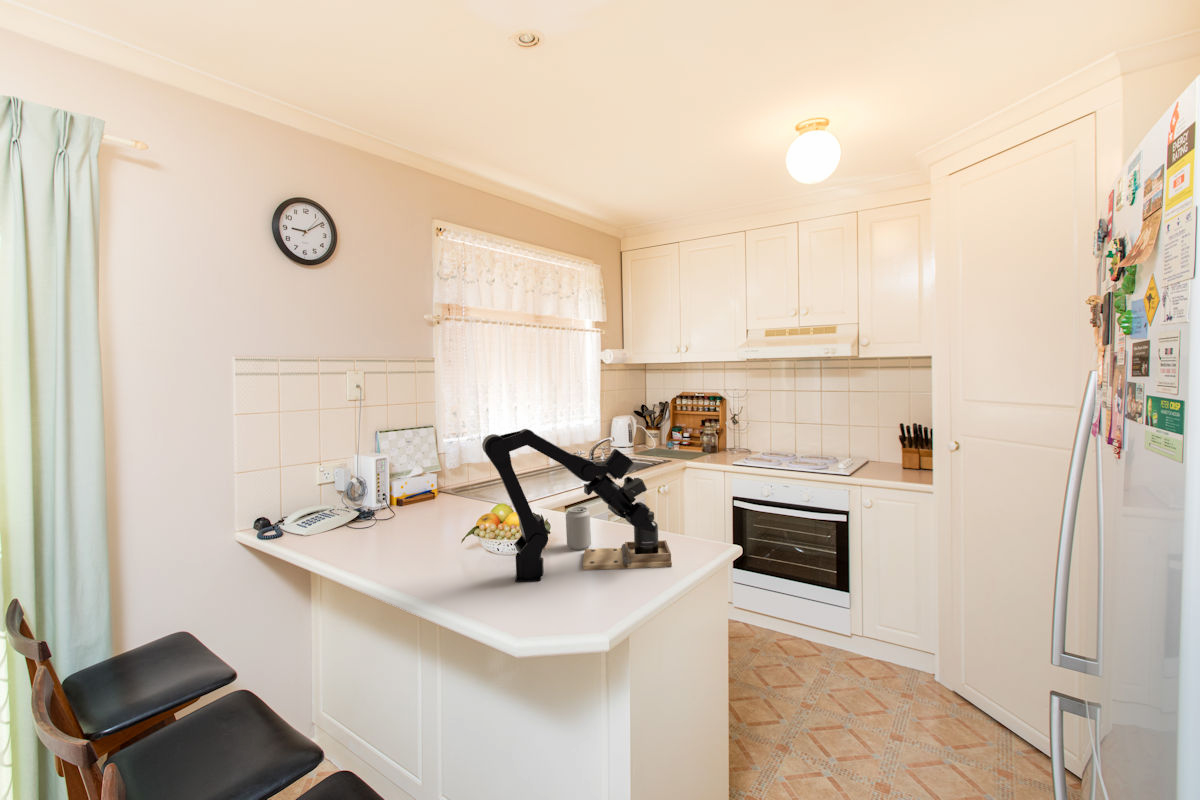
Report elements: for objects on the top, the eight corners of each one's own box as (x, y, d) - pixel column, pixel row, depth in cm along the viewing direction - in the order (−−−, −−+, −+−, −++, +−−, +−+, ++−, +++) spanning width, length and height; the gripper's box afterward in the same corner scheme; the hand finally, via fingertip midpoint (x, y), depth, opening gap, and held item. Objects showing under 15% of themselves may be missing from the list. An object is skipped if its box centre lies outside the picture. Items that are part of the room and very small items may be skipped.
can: (590, 550, 159) (589, 511, 159) (566, 551, 159) (564, 511, 159) (591, 542, 167) (590, 505, 166) (568, 543, 167) (566, 506, 166)
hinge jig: (583, 570, 143) (582, 558, 143) (585, 553, 157) (584, 542, 157) (671, 566, 143) (671, 554, 143) (665, 550, 157) (665, 539, 157)
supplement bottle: (645, 560, 145) (644, 517, 145) (629, 554, 150) (628, 512, 150) (663, 554, 149) (662, 512, 149) (647, 549, 155) (645, 508, 154)
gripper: (641, 475, 139) (680, 512, 142) (616, 465, 156) (652, 498, 160) (614, 508, 136) (654, 544, 140) (592, 494, 154) (628, 527, 158)
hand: (647, 526), depth 150 cm, fingers open, 9 cm apart
